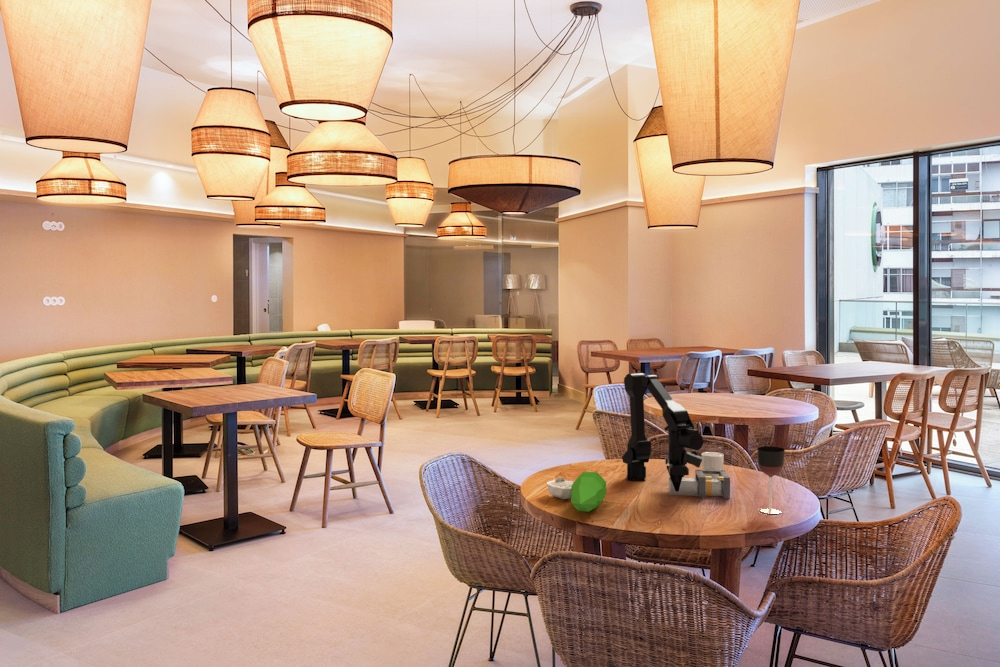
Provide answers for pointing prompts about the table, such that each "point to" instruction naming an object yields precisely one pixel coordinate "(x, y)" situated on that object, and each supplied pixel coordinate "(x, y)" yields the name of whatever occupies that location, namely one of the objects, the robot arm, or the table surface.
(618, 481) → the table surface
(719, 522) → the table surface
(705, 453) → the white cup
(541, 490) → the table surface
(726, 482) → the grey c-shaped bracket
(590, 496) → the decorative tree
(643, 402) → the robot arm
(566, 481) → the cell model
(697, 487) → the grey rectangular bar
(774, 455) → the wineglass
